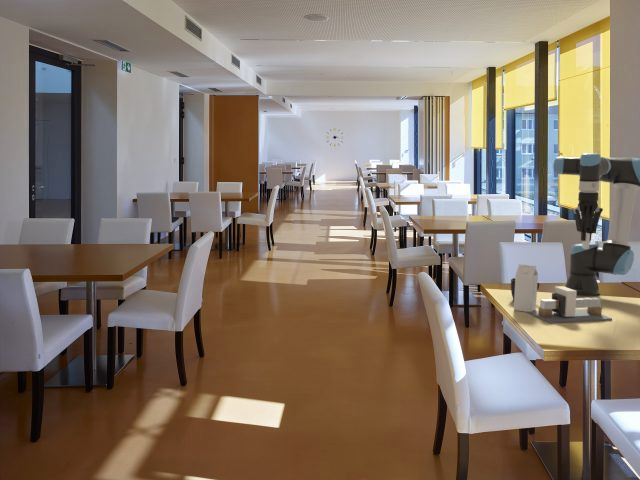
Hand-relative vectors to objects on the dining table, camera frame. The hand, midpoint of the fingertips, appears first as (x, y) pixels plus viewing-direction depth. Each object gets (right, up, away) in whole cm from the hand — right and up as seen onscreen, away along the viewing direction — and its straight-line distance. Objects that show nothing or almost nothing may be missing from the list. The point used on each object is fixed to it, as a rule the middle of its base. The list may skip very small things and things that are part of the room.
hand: (585, 248), depth 284 cm
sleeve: (-12, -26, -9) cm, 30 cm away
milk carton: (-24, -26, +2) cm, 36 cm away
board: (-10, -27, -9) cm, 30 cm away
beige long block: (-10, -27, -9) cm, 30 cm away
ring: (-15, -25, -10) cm, 31 cm away
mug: (-20, -24, +19) cm, 36 cm away
